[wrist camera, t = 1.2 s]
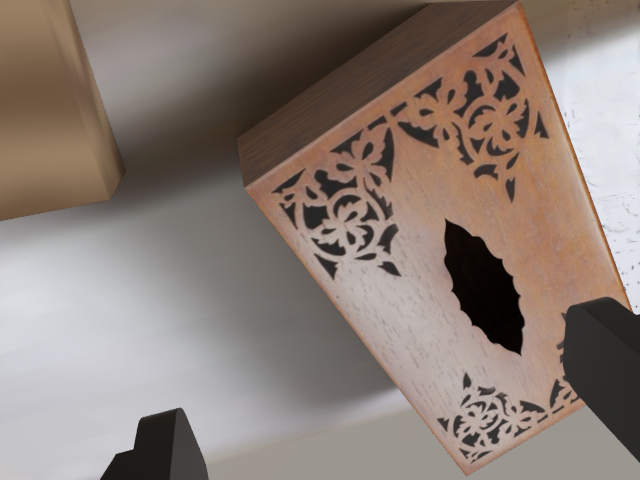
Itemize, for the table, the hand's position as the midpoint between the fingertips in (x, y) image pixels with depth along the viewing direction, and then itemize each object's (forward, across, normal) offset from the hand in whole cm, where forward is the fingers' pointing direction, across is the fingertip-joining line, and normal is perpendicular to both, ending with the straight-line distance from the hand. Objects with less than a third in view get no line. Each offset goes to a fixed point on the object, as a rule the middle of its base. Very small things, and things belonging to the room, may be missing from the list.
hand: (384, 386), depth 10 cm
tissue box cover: (+24, -9, +9) cm, 27 cm away
